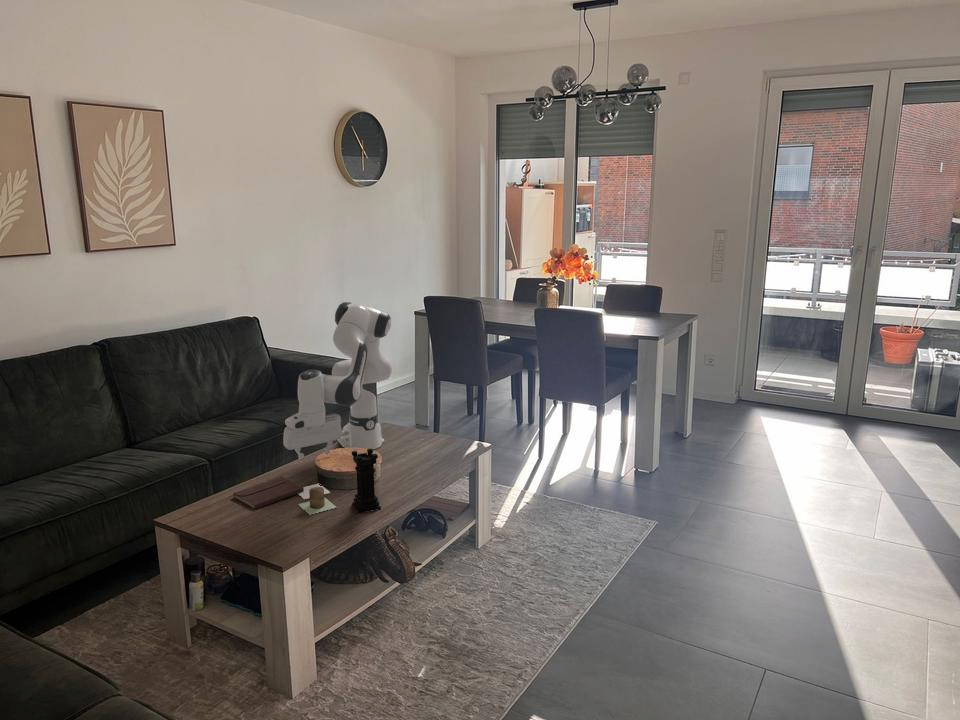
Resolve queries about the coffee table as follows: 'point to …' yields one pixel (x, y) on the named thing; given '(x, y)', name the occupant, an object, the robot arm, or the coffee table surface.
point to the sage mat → (310, 510)
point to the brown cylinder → (316, 497)
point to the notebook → (268, 492)
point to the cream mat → (306, 489)
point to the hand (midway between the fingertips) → (314, 456)
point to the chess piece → (365, 482)
